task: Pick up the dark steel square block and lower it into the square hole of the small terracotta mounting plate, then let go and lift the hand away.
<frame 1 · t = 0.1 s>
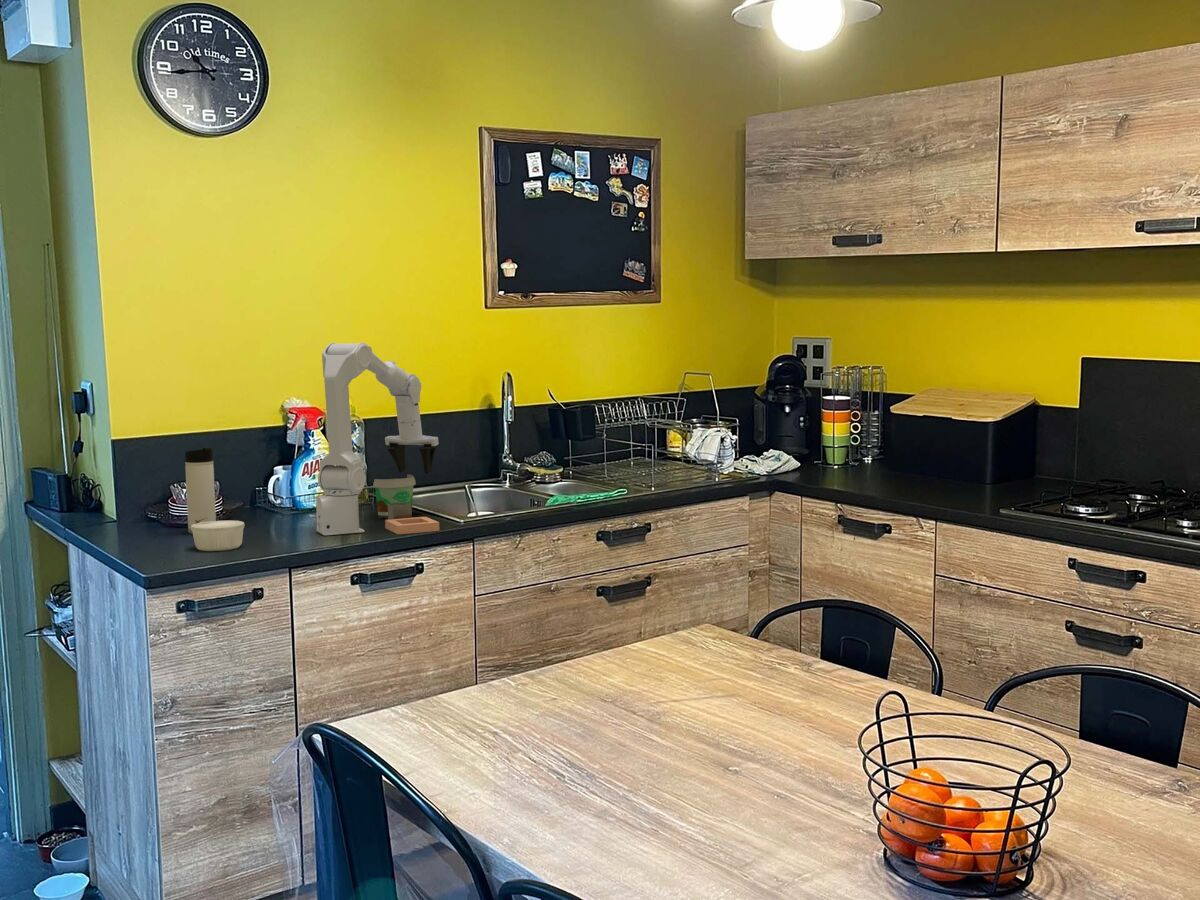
hand: (415, 472, 304), 11 cm above the table, tool pointing down, fingers open, 7 cm apart
ramekin: (218, 548, 259), on the table
food container: (400, 517, 299), on the table
hole plate: (412, 529, 279), on the table
steel block: (400, 524, 288), on the table
travel mug: (202, 532, 279), on the table
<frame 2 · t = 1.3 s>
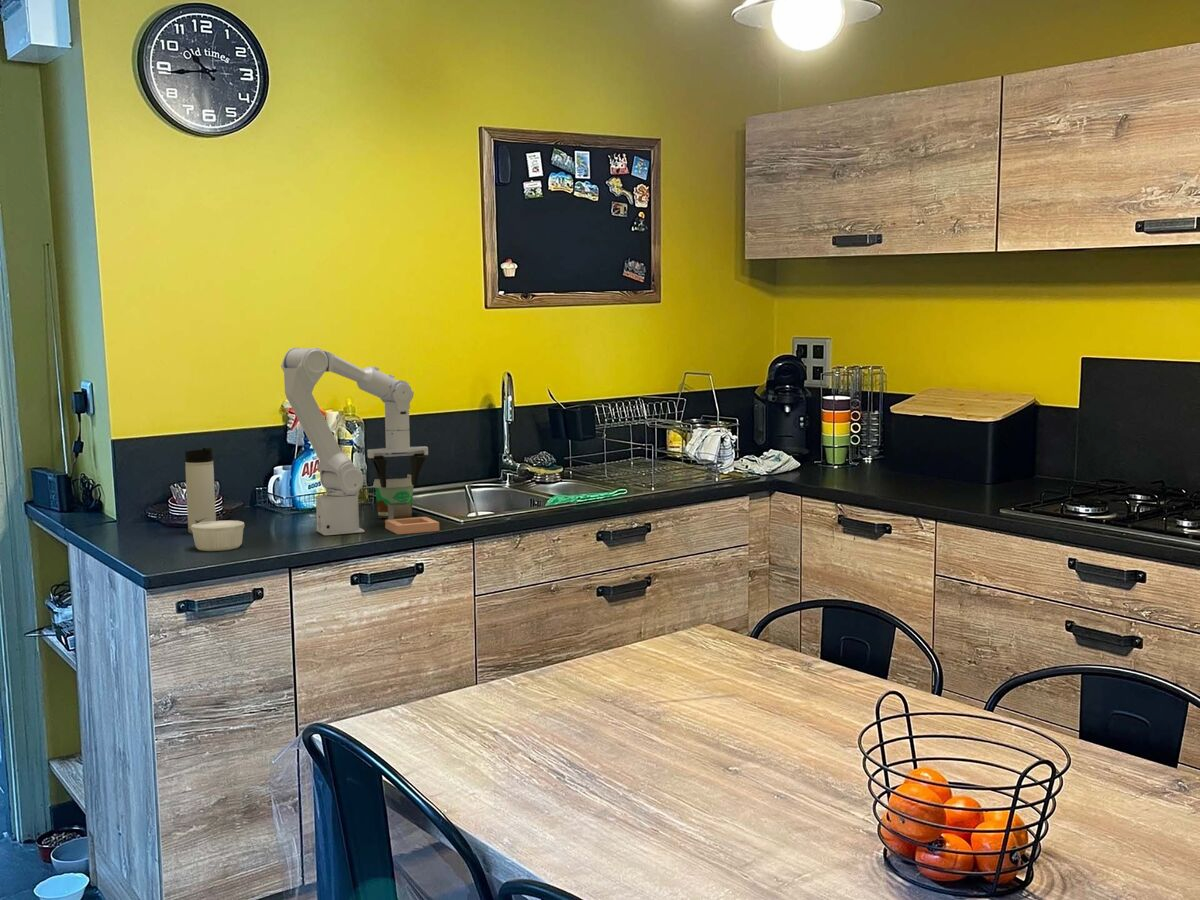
hand: (399, 486, 287), 9 cm above the table, tool pointing down, fingers open, 7 cm apart
nothing on the table moved.
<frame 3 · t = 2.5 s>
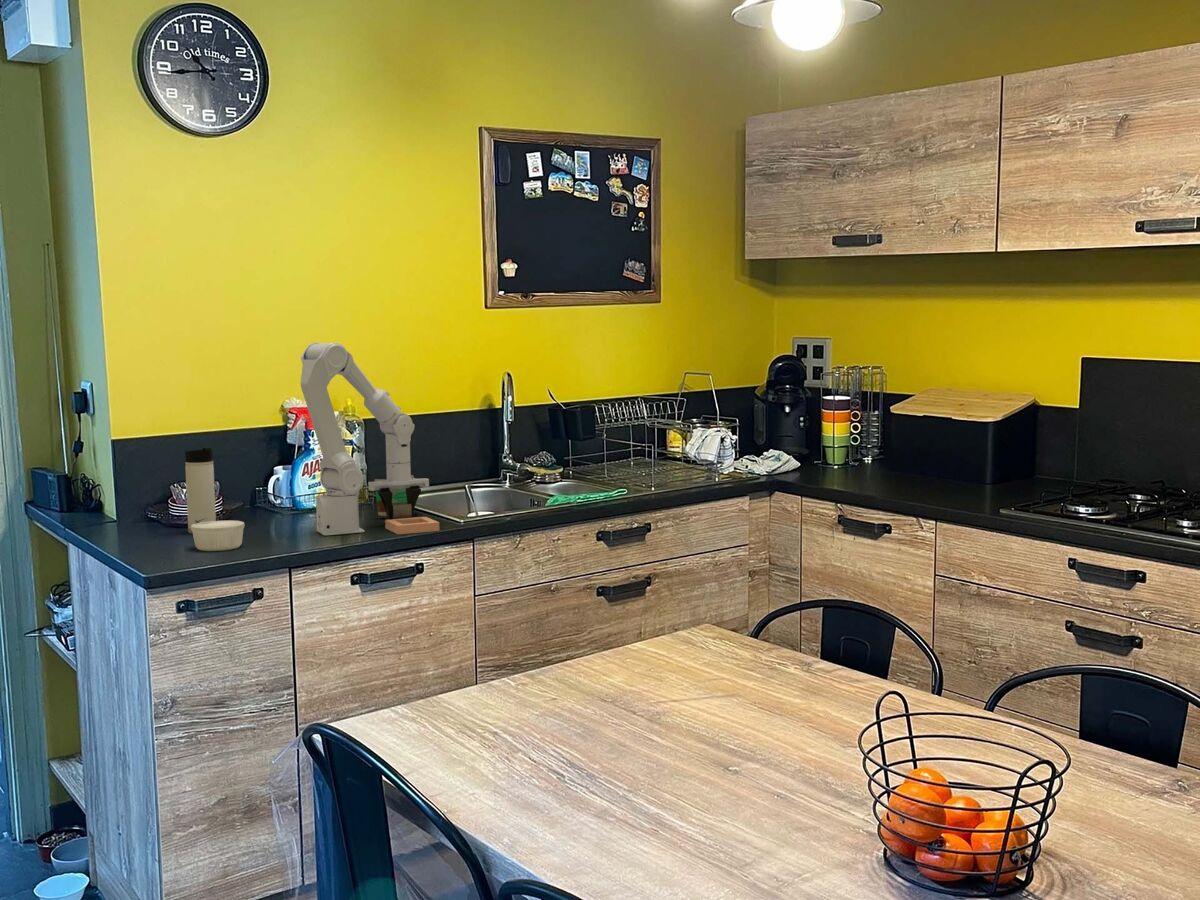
hand: (399, 518, 287), 1 cm above the table, tool pointing down, fingers closed on steel block, 4 cm apart
steel block: (400, 524, 288), on the table, touching gripper
everything else where it was.
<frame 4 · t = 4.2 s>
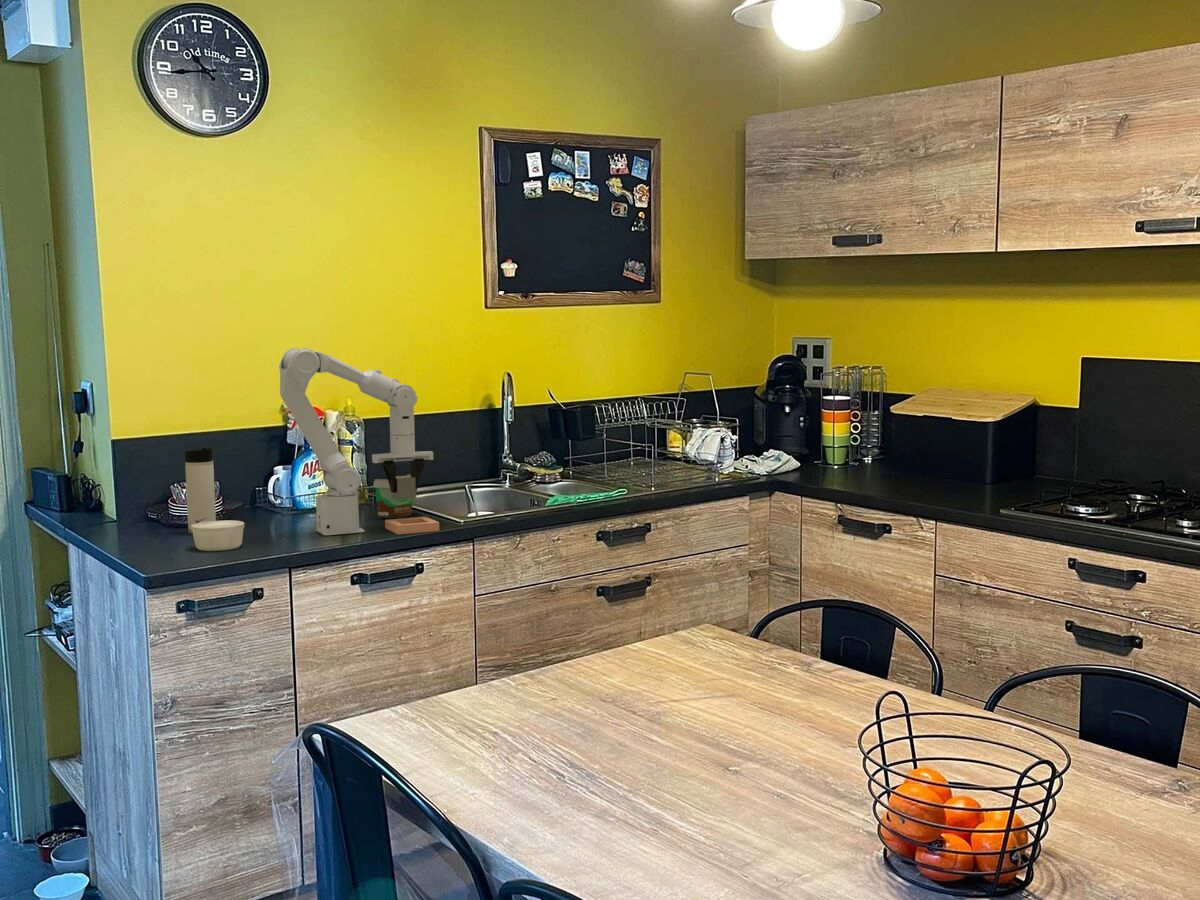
hand: (403, 491, 283), 8 cm above the table, tool pointing down, fingers closed on steel block, 4 cm apart
steel block: (403, 497, 284), point 7 cm above the table, touching gripper
everything else where it was.
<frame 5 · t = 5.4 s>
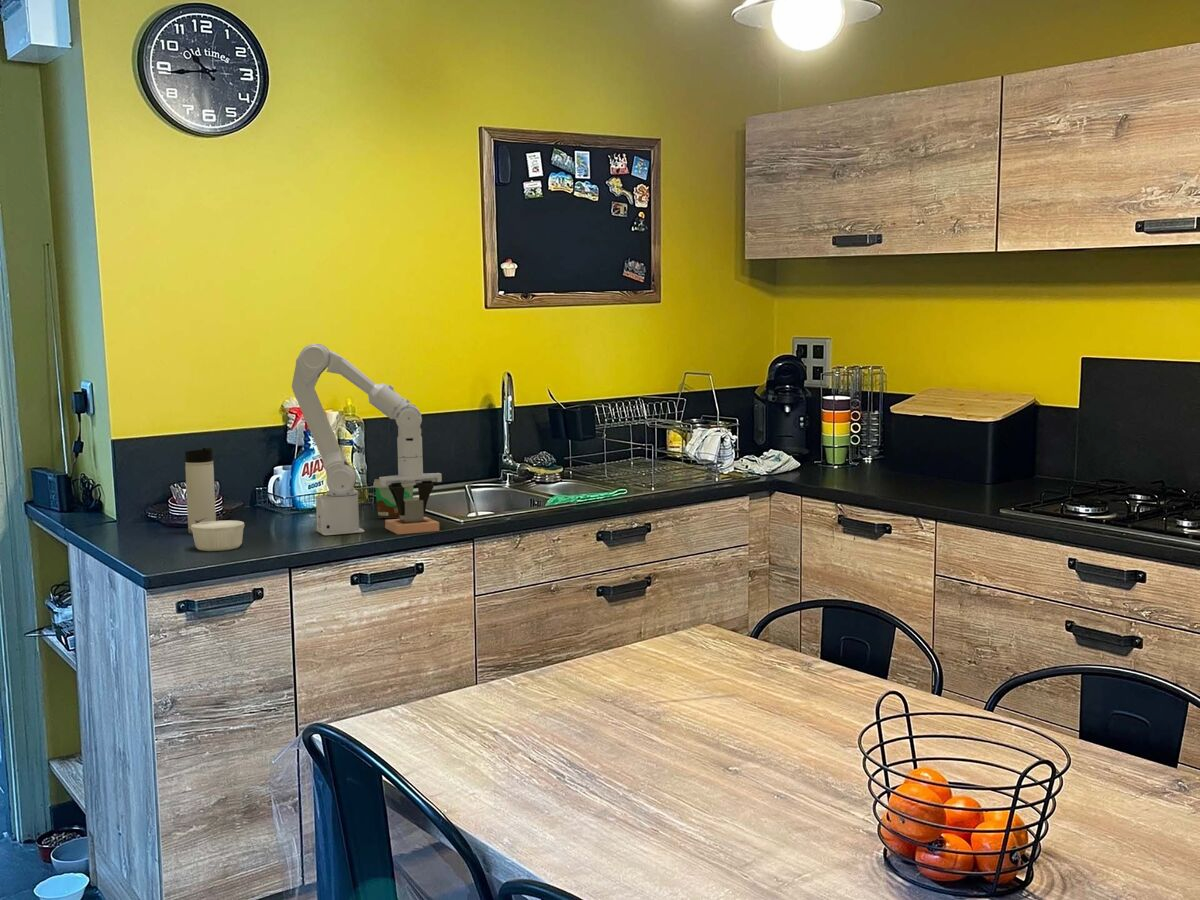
hand: (411, 514, 279), 4 cm above the table, tool pointing down, fingers closed on steel block, 4 cm apart
steel block: (411, 520, 279), point 2 cm above the table, touching gripper
everything else where it was.
when the fingers open (3 cm above the table, at t = 6.1 s): steel block drops 1 cm, resting in hole plate.
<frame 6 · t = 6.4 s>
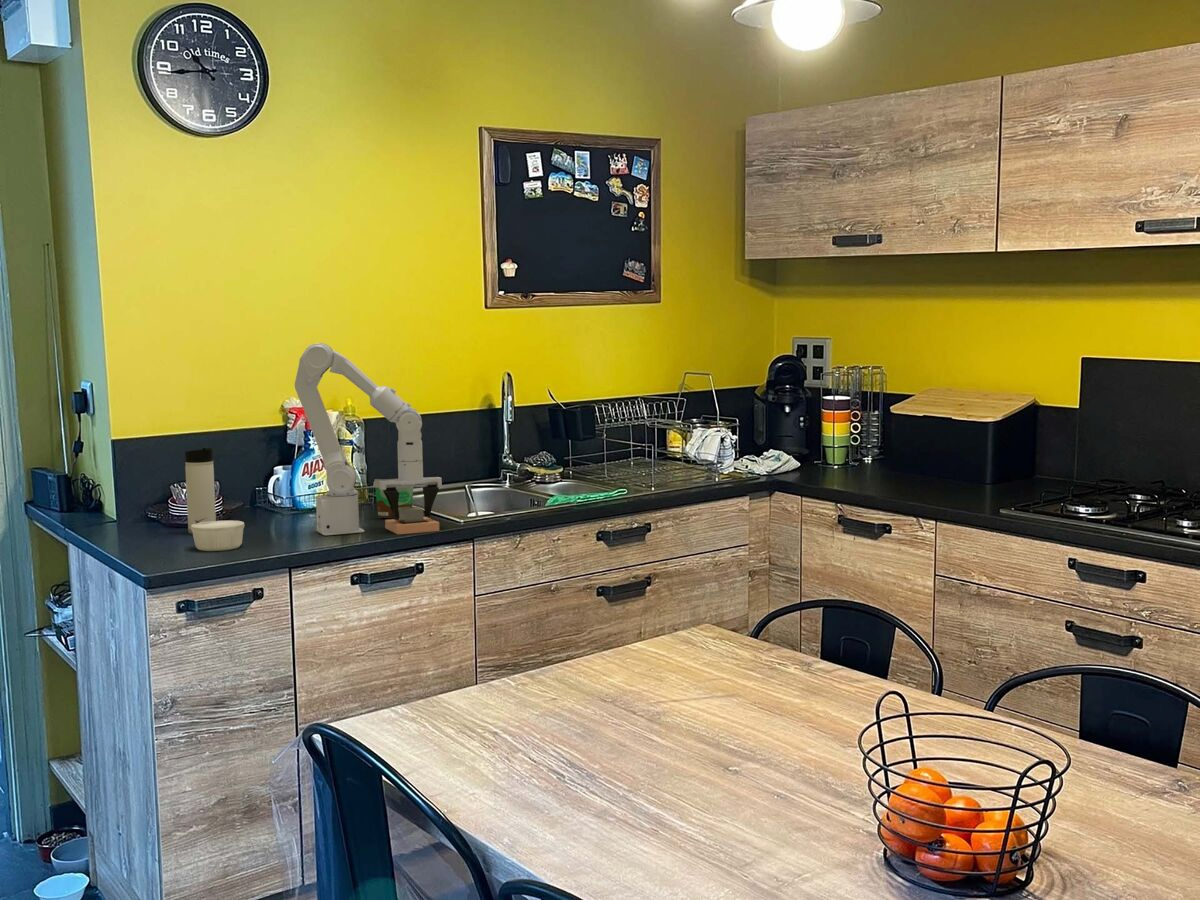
hand: (411, 518, 279), 3 cm above the table, tool pointing down, fingers open, 7 cm apart
steel block: (411, 529, 279), resting in hole plate
everything else where it was.
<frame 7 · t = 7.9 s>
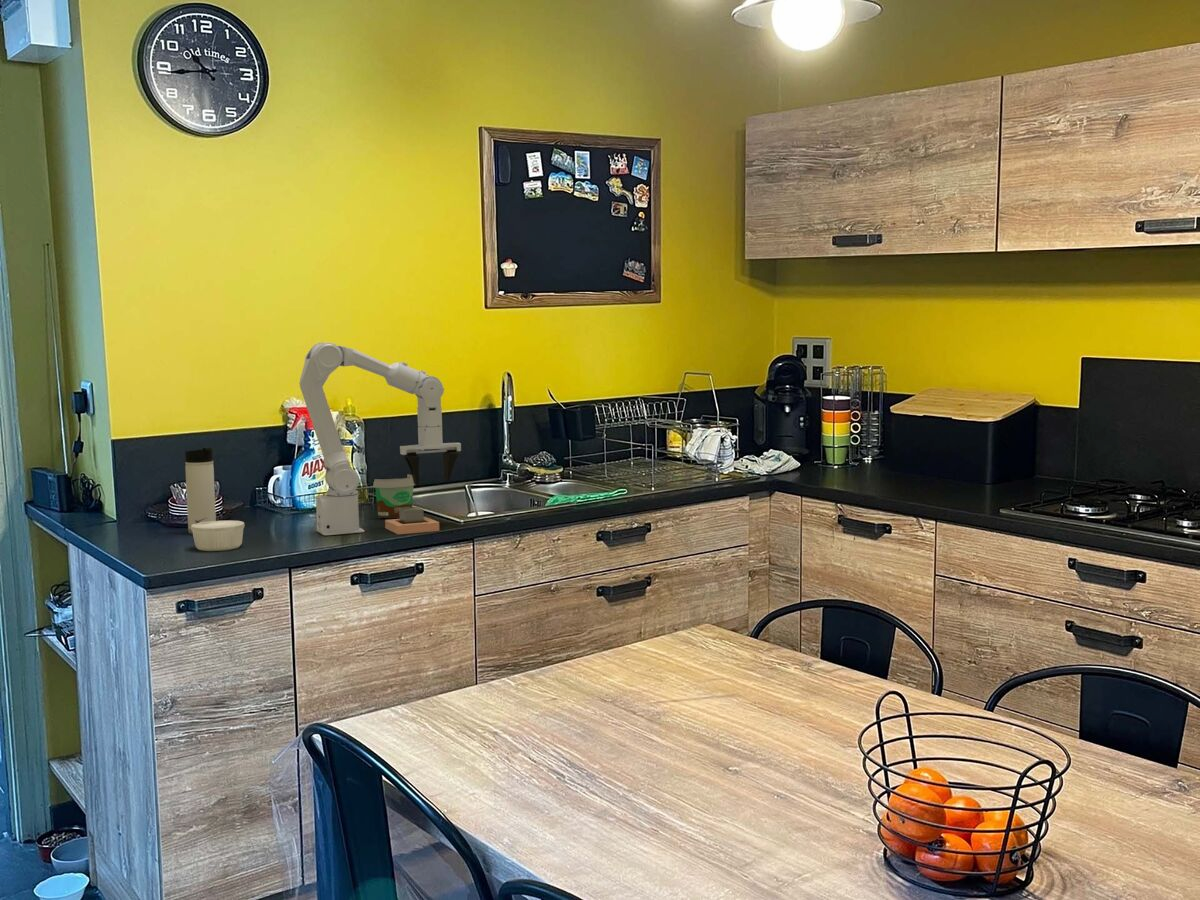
hand: (431, 482, 284), 10 cm above the table, tool pointing down, fingers open, 7 cm apart
nothing on the table moved.
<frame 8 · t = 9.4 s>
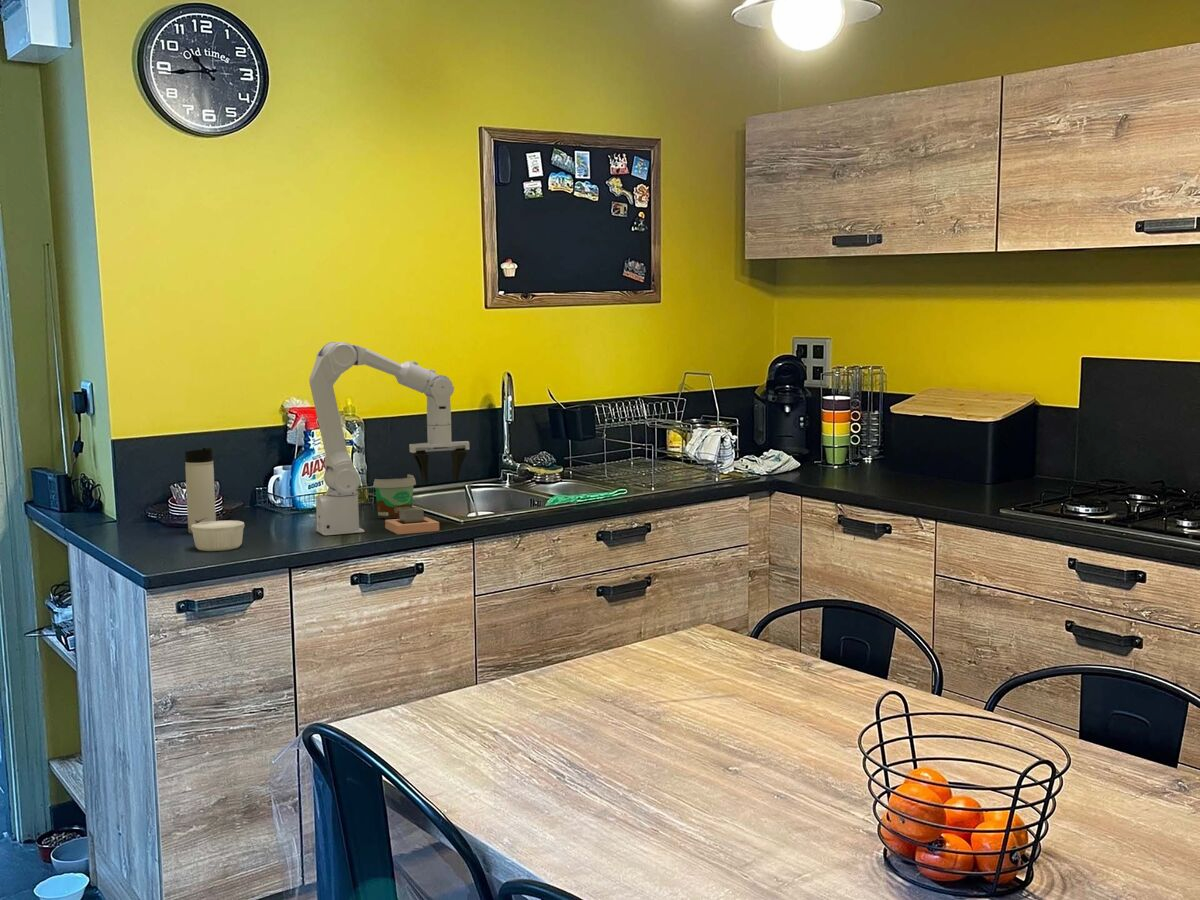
hand: (440, 480, 286), 10 cm above the table, tool pointing down, fingers open, 7 cm apart
nothing on the table moved.
at the end: steel block 0.3 cm off-centre on the hole plate, point 0.0 cm above the hole plate's base; steel block tilted 0°; the gripper is holding nothing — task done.
